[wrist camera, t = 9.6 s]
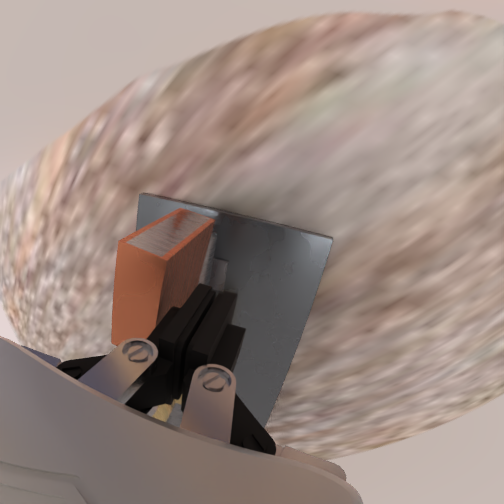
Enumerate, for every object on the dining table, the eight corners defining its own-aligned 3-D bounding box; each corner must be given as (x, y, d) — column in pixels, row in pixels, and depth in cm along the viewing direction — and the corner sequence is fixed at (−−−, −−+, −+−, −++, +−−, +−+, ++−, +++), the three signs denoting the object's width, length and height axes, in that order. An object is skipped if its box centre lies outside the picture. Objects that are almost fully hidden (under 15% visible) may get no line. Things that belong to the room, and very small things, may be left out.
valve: (261, 430, 28) (254, 468, 23) (140, 392, 29) (120, 423, 24) (332, 237, 20) (340, 265, 15) (143, 192, 21) (103, 206, 16)
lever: (182, 395, 20) (153, 453, 15) (140, 376, 20) (104, 428, 15) (230, 224, 15) (188, 269, 10) (167, 203, 15) (101, 233, 10)
